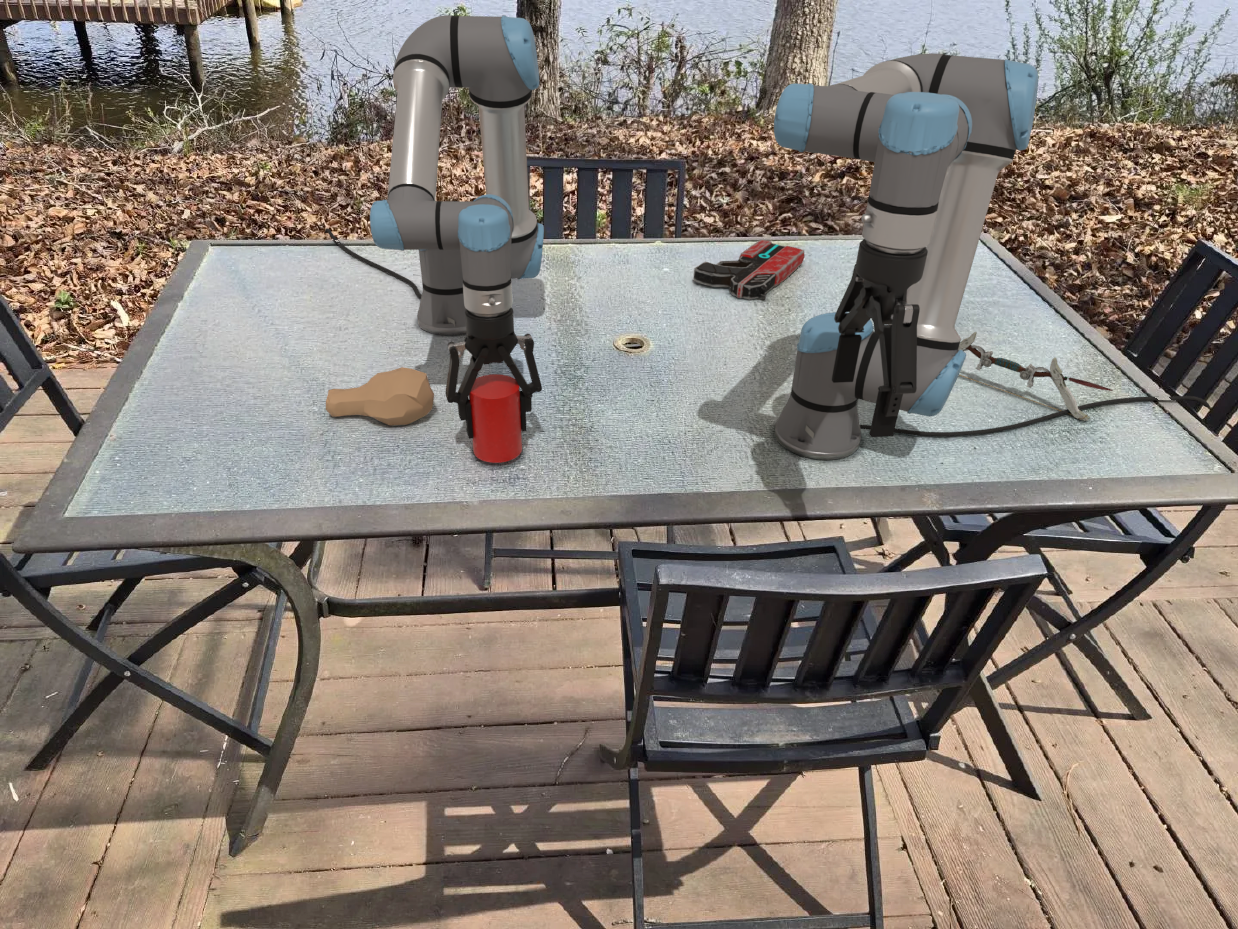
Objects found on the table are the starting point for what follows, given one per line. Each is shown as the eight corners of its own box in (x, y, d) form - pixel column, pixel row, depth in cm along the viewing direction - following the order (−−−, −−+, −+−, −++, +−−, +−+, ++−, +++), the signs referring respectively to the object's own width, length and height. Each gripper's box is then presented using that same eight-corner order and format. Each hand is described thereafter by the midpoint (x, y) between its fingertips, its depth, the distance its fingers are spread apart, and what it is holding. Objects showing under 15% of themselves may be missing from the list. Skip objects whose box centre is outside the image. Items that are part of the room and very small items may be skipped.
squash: (434, 432, 158) (421, 393, 152) (327, 440, 160) (310, 402, 153) (443, 394, 166) (431, 355, 160) (341, 402, 167) (325, 364, 161)
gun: (689, 269, 215) (762, 288, 207) (741, 232, 237) (809, 248, 229) (687, 286, 217) (759, 305, 209) (739, 248, 239) (806, 264, 231)
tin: (465, 458, 149) (460, 394, 142) (484, 433, 156) (479, 371, 149) (512, 466, 148) (509, 401, 141) (528, 440, 154) (526, 377, 147)
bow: (1101, 423, 166) (1119, 376, 160) (1098, 427, 165) (1116, 380, 159) (913, 357, 187) (924, 314, 182) (909, 360, 186) (919, 316, 181)
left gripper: (422, 324, 132) (436, 451, 144) (560, 310, 137) (562, 434, 150) (417, 304, 137) (431, 427, 150) (549, 292, 143) (552, 412, 155)
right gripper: (826, 208, 108) (801, 362, 120) (907, 286, 88) (868, 462, 100) (883, 207, 109) (854, 360, 121) (977, 284, 89) (931, 459, 101)
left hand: (496, 430), depth 150 cm, fingers closed on tin, 8 cm apart
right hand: (860, 406), depth 110 cm, fingers open, 13 cm apart
